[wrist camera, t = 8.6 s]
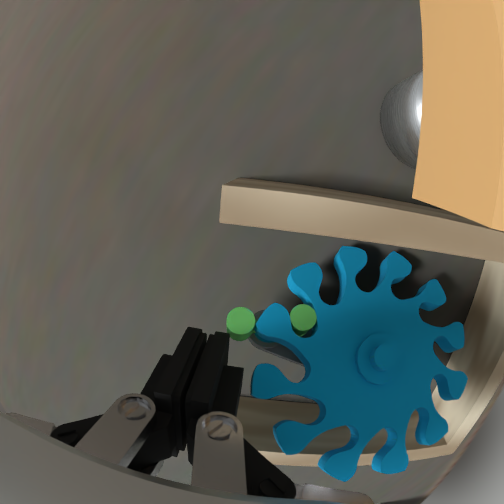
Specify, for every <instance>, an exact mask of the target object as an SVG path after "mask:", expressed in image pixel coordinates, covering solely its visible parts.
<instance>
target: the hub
mask: <svg viewBox="0 0 504 504" xmlns="http://www.w3.org/2000/svg"><path fill="white" fill-rule="evenodd" d="M420 8H421V21H422V40H423V94H422V114H421V128H420V139H419V149H418V158H417V166H416V174H415V181H414V188H413V194H412V198H414V199H417V200H420V201H422V202H425V203H428V204H431V205H434V206H436V207H439V208H442V209H444V210H447V211H450V212H452V213H455V214H457V215H460V216H463V217H465V218H468V219H470V220H473V221H475V222H477V223H480V224H482V225H485V226H487V227H489V228H492V229H496V230H500V231H504V0H420Z"/></svg>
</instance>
